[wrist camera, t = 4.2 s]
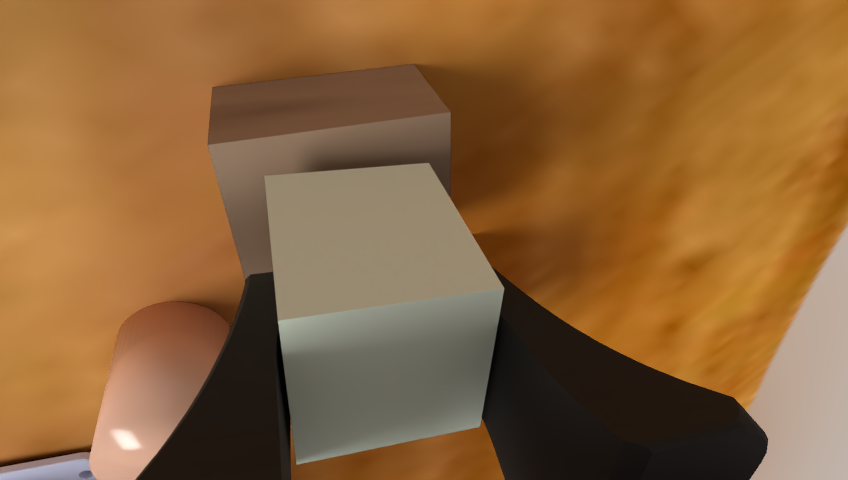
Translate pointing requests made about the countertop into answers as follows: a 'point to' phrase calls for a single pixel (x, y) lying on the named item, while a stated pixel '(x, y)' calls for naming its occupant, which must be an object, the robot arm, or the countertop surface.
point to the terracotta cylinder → (152, 383)
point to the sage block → (378, 308)
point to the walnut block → (318, 138)
